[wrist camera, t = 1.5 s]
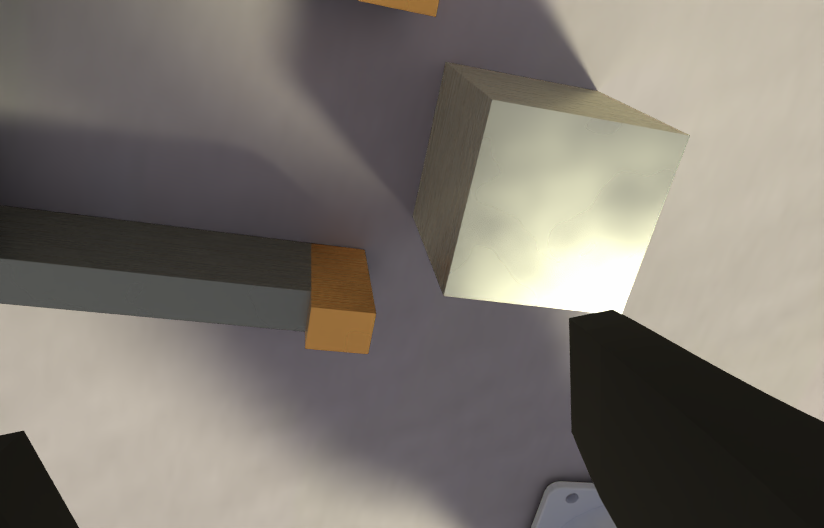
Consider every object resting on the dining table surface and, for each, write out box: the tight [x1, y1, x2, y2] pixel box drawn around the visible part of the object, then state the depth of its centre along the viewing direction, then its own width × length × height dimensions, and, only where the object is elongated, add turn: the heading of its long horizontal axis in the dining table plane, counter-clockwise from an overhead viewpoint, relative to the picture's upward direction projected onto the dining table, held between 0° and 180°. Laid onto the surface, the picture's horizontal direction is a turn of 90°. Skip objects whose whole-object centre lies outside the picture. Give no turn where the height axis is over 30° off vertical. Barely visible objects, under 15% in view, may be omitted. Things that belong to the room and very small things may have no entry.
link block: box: [413, 62, 690, 314], centre depth 16 cm, size 4×4×5 cm
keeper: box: [0, 0, 439, 354], centre depth 14 cm, size 14×9×4 cm, turn 78°
